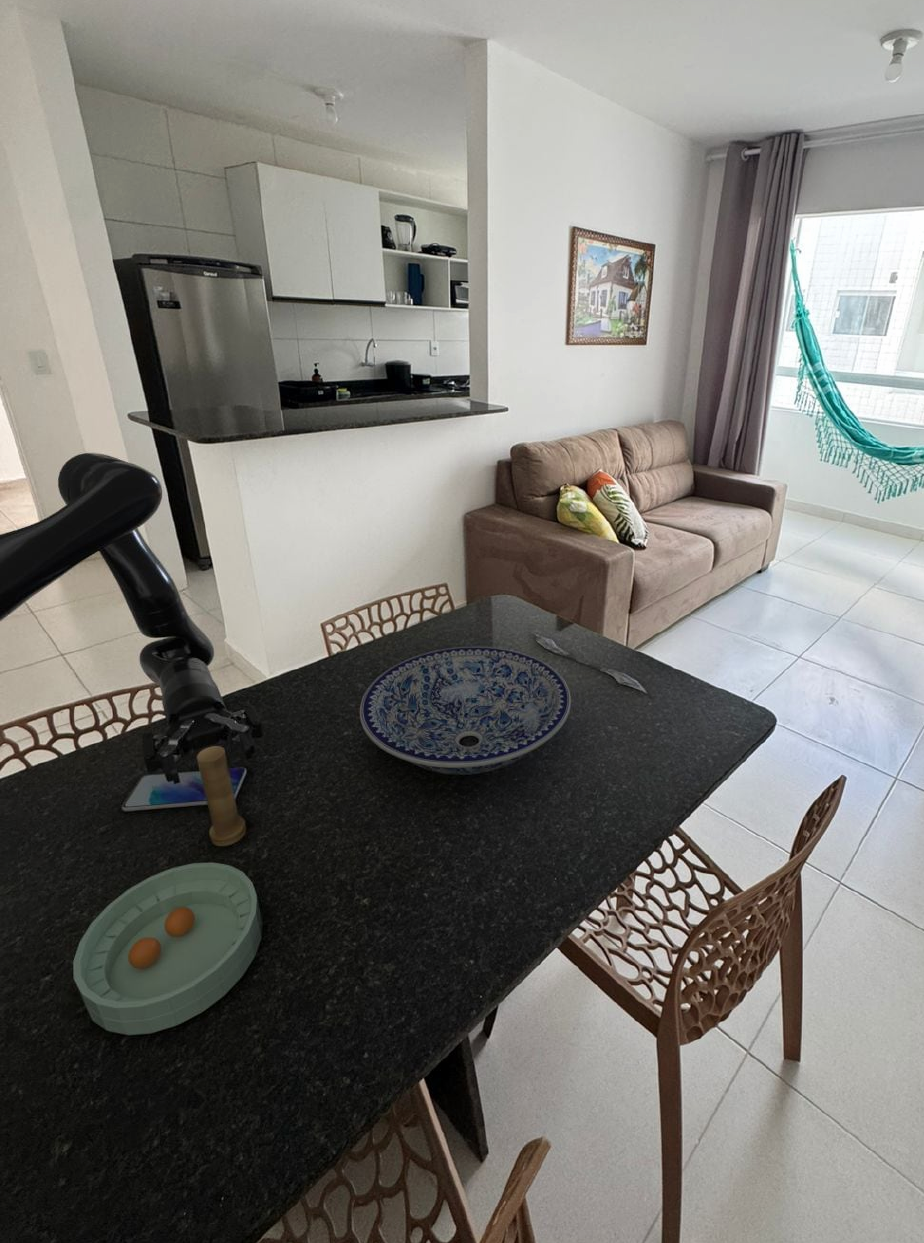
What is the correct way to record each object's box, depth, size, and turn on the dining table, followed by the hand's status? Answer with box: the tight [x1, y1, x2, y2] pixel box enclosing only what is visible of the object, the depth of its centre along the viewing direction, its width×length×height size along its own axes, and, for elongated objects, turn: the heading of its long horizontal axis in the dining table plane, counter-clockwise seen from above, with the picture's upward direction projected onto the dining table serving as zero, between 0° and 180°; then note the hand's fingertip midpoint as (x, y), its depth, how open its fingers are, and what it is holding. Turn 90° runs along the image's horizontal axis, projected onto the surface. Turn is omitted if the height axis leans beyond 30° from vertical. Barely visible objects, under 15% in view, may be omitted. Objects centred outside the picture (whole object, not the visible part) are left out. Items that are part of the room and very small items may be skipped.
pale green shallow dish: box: [72, 862, 263, 1036], centre depth 70 cm, size 17×17×5 cm
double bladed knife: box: [533, 632, 647, 694], centre depth 133 cm, size 32×1×5 cm
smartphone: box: [121, 767, 247, 812], centre depth 94 cm, size 7×1×15 cm
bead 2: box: [165, 907, 195, 936], centre depth 73 cm, size 3×3×3 cm
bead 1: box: [128, 937, 161, 969], centre depth 69 cm, size 3×3×3 cm
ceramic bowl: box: [359, 646, 572, 776], centre depth 106 cm, size 34×34×10 cm
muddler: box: [196, 745, 247, 847], centre depth 85 cm, size 4×4×14 cm
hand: (213, 765), depth 83 cm, fingers open, 8 cm apart
